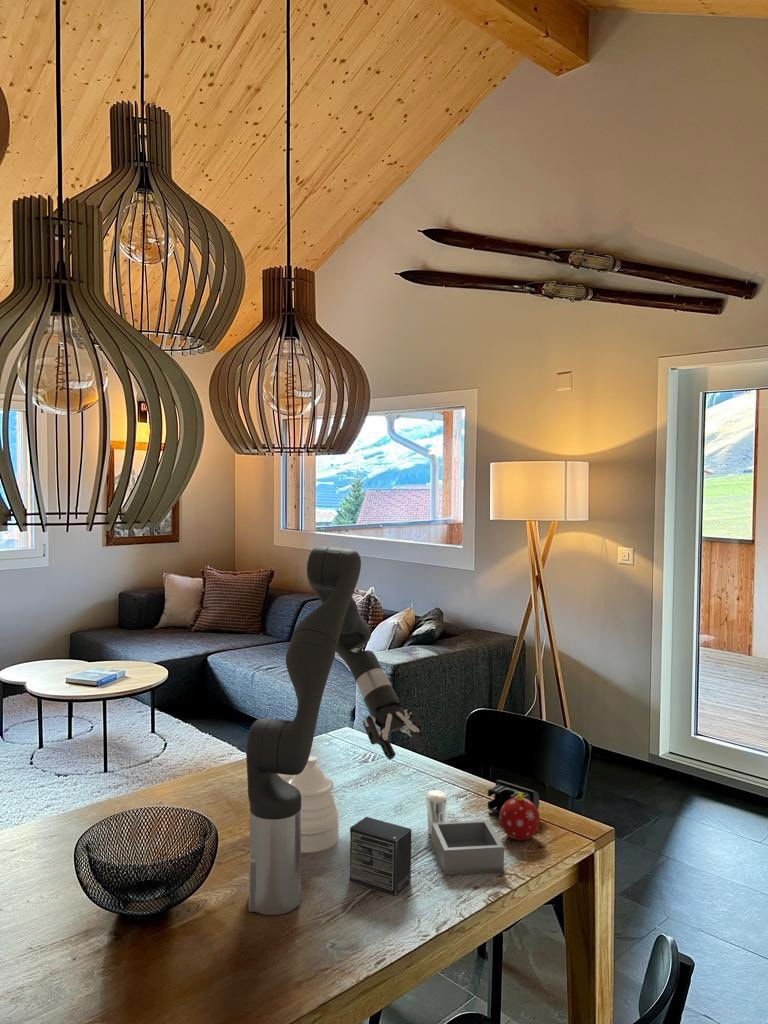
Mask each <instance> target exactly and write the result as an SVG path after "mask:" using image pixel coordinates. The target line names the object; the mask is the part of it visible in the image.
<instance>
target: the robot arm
mask: <svg viewBox="0 0 768 1024" xmlns="http://www.w3.org/2000/svg"><path fill="white" fill-rule="evenodd" d="M361 566H362V560H361V556H360V553H358V552H357V551H356V550H354V549H349V548H343V547H335V546H333V547H332V546H316V547H314V548H312V549H311V551H310V552H309V555H308V558H307V563H306V576H307V581H308V582H309V586H310V587H311V589H312V590H313V592H315V594H316V595H317V598H318V599H319V600H320V602H321V603H322V604H320V605H319V606H317V608H315V609H314V610H313V611H311V612H310V613H308V615H306V616H305V617H304V618H303V619H302V620H301V621H300V622H299V623H298V624H297V626H296V627H295V629H294V630H293V632H292V635H291V639H290V642H289V644H288V648H287V651H286V655H285V665H286V670H287V673H288V677H289V679H290V681H291V683H292V684H291V685H292V687H293V688H294V692H295V695H296V700H297V708H296V709H297V710H296V714H295V717H294V719H293V720H287V719H286V720H285V719H274V718H259V719H256V720H255V721H254V722H253V723H252V724H251V726H250V728H249V731H248V734H247V739H246V747H245V748H246V749H245V751H246V752H245V753H246V754H245V755H246V772H247V773H246V774H247V779H246V780H247V796H248V801H249V854H248V855H249V856H248V912H250V913H251V912H256V913H258V914H261V915H266V916H279V915H283V914H287V913H289V912H291V911H294V909H296V908H297V907H298V906H299V905H300V903H301V892H302V889H301V888H302V886H301V885H302V884H301V881H302V880H301V879H302V877H301V876H302V868H301V867H302V852H301V793H300V791H299V790H298V789H297V788H296V787H294V786H293V785H291V784H289V783H288V781H286V780H284V779H283V778H282V777H281V776H280V775H285V776H286V775H287V776H294V775H298V774H300V773H301V772H302V771H303V770H304V768H305V766H306V764H307V762H308V759H309V756H311V750H312V747H313V742H314V737H315V732H316V727H317V722H318V718H319V713H320V707H321V702H322V700H323V694H324V692H325V687H326V686H327V681H328V679H329V675H330V672H331V669H332V665H333V663H334V658H335V656H336V654H337V655H338V656H339V657H340V658H341V659H342V660H343V662H345V664H346V665H347V667H348V668H349V671H350V672H351V675H352V677H353V678H354V680H355V682H356V686H357V689H358V691H359V694H360V696H361V698H362V700H363V702H364V704H365V706H366V708H367V710H368V712H369V715H368V716H367V717H366V718H365V719H364V721H362V724H363V727H364V729H365V732H366V735H367V737H368V739H369V741H370V744H371V745H373V746H374V745H379V746H380V747H381V749H382V751H383V754H384V756H385V757H386V758H387V760H389V761H390V760H393V759H394V758H395V757H396V752H395V750H394V747H393V746H392V744H391V742H390V739H389V740H388V737H389V734H390V733H394V732H399V731H400V732H401V733H403V734H406V735H408V736H409V737H410V739H411V741H412V744H413V745H414V747H415V749H416V751H417V752H418V753H419V752H420V753H421V752H422V751H423V750H424V749H425V742H424V740H423V739H422V736H421V734H420V732H421V731H422V730H423V729H424V728H425V727H424V723H422V720H421V719H420V717H419V715H418V713H417V712H416V710H415V708H414V706H409V707H408V708H407V709H403V708H402V707H401V706H400V700H399V698H398V695H397V693H396V691H395V690H394V688H393V686H392V683H391V682H390V680H389V677H388V676H387V674H386V673H385V672H384V670H383V668H382V666H381V664H380V662H379V660H378V658H377V655H376V654H375V652H373V651H371V650H369V649H368V650H362V651H356V652H355V651H353V650H356V649H358V648H360V647H362V646H364V645H367V643H368V642H370V640H371V637H372V632H371V628H370V626H369V625H368V623H367V621H366V620H365V619H364V618H363V617H361V615H360V612H359V609H358V605H357V603H356V600H355V598H353V596H354V592H355V590H356V587H357V584H358V581H359V578H360V572H361V569H362V567H361ZM404 724H405V725H404ZM377 727H379V730H378V728H377Z"/></svg>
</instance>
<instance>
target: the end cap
mask: <svg viewBox="0 0 768 1024" xmlns="http://www.w3.org/2000/svg"><path fill="white" fill-rule="evenodd" d="M518 792H521V793H523V798H525V799H528V800H529V801H531V802H532V803H533V804H534V805H535V806H536V808H537V810H538V811H539V807H540V796H539V793H538V792H537V791H536V790H533V789H530V788H527V787H523V786H520V785H517V784H514V783H510V782H507V781H504V780H501V779H497V780H495V785H494V786H493V787H491V788H489V789H488V790H487V797H489V798H490V797H491V796H493V798H492V799H490V800H488V801H487V809H488V811H487V812H488V815H489V816H490V817H495V818H496V819H499V815H500V810H501V808H502V806H503V805H504V803H505V802H506V801H508V800H509V799H511V798H515V797H517V793H518ZM519 794H520V793H519ZM520 795H521V794H520Z"/></svg>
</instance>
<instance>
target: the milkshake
mask: <svg viewBox="0 0 768 1024" xmlns="http://www.w3.org/2000/svg"><path fill="white" fill-rule="evenodd" d="M451 790H452V789H450V790H449V791H448V793H450V792H451ZM425 795H426V797H425V800H426V811H427V827H428V828H427V829H428V830H427V831H428V835H430V836H432V823H434V822H446V821H445V819H446V809H447V801H448V796H449V795H448V794H446V793H445V792H443V791H442V790H440V789H439V790H438V789H437V790H436V789H435V790H433V789H432V790H430V791H428V792H427V793H426V794H425Z"/></svg>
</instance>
